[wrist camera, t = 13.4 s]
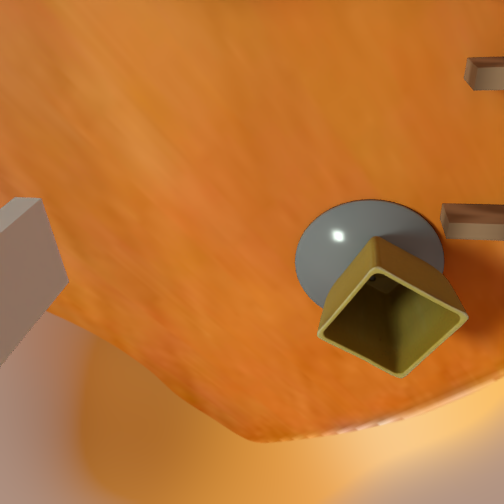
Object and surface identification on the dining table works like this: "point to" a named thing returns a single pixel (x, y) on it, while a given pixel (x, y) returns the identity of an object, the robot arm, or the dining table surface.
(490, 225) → the wooden blocks
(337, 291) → the flower pot
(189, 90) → the dining table surface
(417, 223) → the grey round disc
